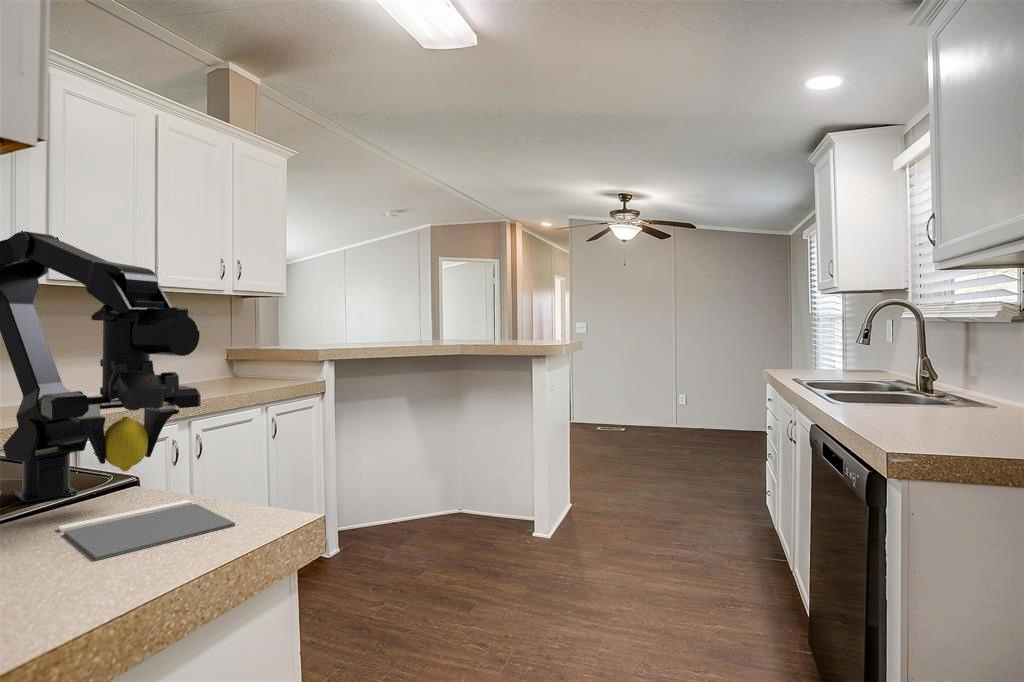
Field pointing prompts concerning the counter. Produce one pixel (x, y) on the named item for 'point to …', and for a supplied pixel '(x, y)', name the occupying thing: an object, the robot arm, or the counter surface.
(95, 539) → the mat
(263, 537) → the counter surface
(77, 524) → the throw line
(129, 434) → the lemon
